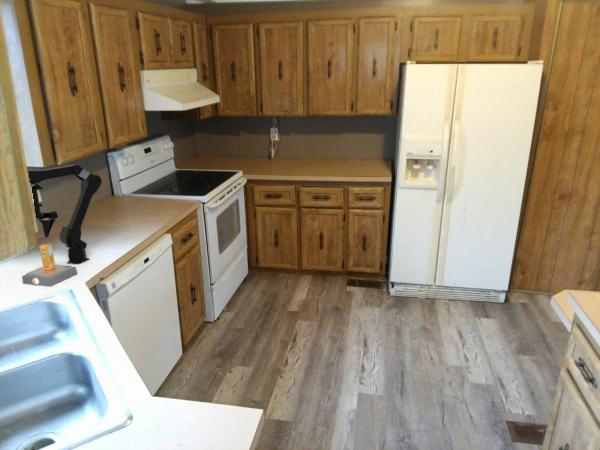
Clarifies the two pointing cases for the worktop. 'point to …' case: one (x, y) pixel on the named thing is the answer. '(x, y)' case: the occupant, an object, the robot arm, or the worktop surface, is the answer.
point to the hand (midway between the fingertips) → (37, 240)
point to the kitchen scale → (49, 281)
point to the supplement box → (47, 257)
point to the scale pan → (48, 274)
